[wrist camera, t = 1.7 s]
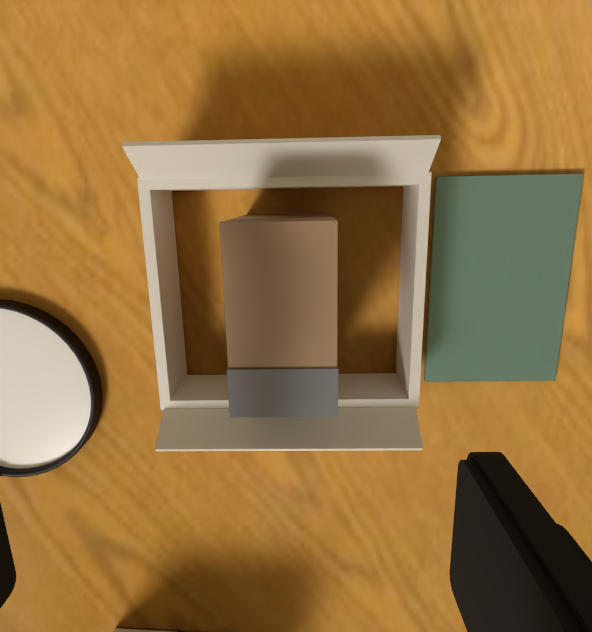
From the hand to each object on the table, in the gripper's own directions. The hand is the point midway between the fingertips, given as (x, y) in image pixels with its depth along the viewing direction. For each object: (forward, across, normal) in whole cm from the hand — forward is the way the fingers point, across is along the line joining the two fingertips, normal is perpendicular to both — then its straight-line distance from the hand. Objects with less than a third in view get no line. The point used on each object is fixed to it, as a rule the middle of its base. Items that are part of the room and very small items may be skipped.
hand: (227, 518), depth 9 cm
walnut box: (+21, -1, -1) cm, 21 cm away
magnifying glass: (+22, +22, +11) cm, 33 cm away
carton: (+21, -1, -1) cm, 21 cm away
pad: (+21, -14, 0) cm, 25 cm away
